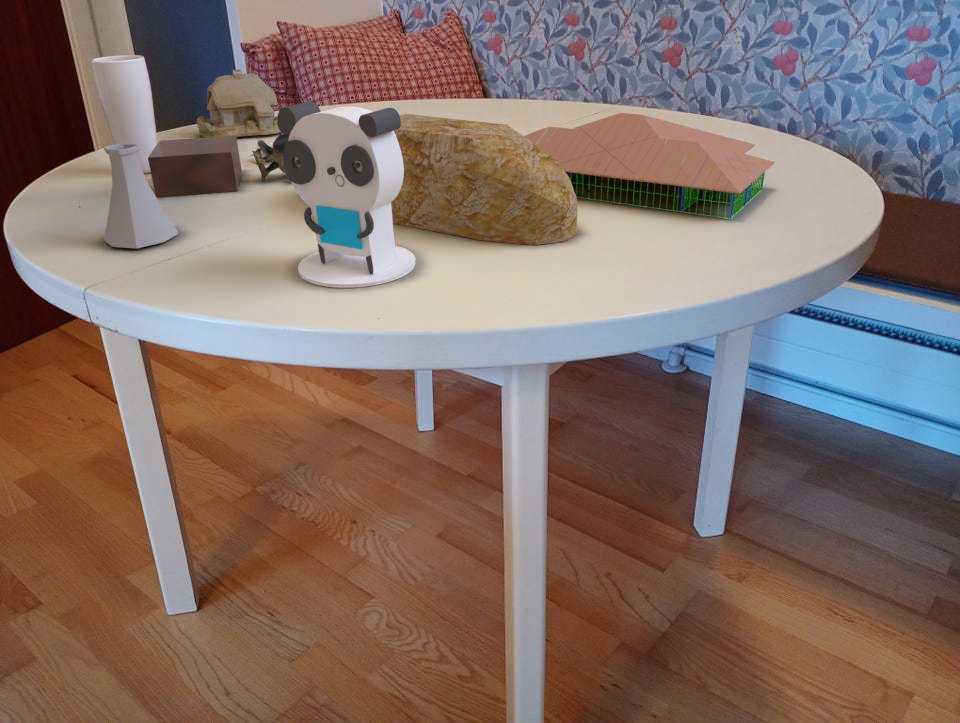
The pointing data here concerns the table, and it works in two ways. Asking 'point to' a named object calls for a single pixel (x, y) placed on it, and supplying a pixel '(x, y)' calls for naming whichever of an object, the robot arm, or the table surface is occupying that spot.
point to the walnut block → (195, 166)
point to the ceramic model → (239, 107)
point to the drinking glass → (127, 102)
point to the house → (656, 157)
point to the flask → (133, 203)
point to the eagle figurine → (271, 155)
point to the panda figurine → (347, 191)
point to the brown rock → (481, 183)
